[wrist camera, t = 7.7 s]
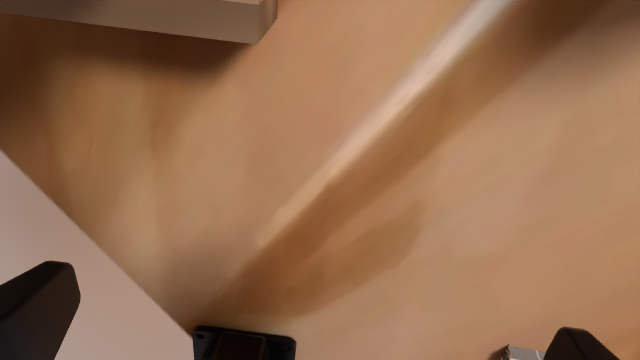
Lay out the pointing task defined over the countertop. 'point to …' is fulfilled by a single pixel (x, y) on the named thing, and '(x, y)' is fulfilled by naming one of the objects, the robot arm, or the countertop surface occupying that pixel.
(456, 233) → the countertop surface
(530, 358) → the house of cards
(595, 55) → the countertop surface
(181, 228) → the countertop surface
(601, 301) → the countertop surface
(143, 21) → the slot block
